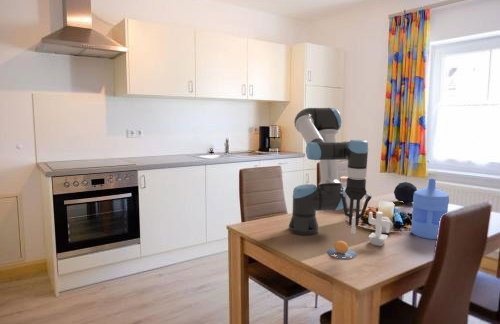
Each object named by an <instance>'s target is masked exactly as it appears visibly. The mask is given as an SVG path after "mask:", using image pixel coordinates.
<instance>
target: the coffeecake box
mask: <svg viewBox="0 0 500 324" xmlns="http://www.w3.org/2000/svg"><path fill="white" fill-rule="evenodd" d="M347 178H348V176H347V175H342V176H340V177H339V181H340V182H341V183H342V187H344V188H345V189H346V187H347ZM365 179H366V180H367V177H366V178H365ZM366 188H367V187H366ZM366 188H365V189H366ZM365 200H366V199H365V196H364V197H363V198H362V199H361V200H360V210H359V211H362V209H363V206H364V203H365ZM356 202H357V200H354V203H353V210H356ZM346 203H347V208H348V209H350V198H349V197H348V195H347V199H346Z"/></svg>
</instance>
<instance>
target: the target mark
mask: <svg viewBox="0 0 500 324" xmlns="http://www.w3.org/2000/svg"><path fill="white" fill-rule="evenodd" d="M328 254H329V255H328ZM334 254H335V255H337V256H336V257H338V258H339V260H349V259H348V258H350V256H352V258H353V259H355V258H356V257H357V253H356V252H355V251H354V250H352V249H350V248H348V250H347V252H346V253H344V254H339V253H338V252H336V250H335V247H334V248H333V247H332V248H329V249H328V250H327V255H328V256H330V255H334ZM342 257H346V258H342ZM354 257H355V258H354Z"/></svg>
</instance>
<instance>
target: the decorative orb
mask: <svg viewBox="0 0 500 324" xmlns="http://www.w3.org/2000/svg"><path fill="white" fill-rule="evenodd" d="M415 191H417V187H416V185H415V184H412V183H411V182H407V181H405V182H398V184H397V185H396V186H395V188H394V191H393V194H394V199H396V200H397V201H398V202H399V201H403V202H404V203H403V204H404V205H407V204H413V196H414V192H415Z"/></svg>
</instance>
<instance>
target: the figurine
mask: <svg viewBox="0 0 500 324" xmlns="http://www.w3.org/2000/svg"><path fill="white" fill-rule="evenodd" d="M383 213H384V212H382V211H376V212H375V216H376V218H374V217H373V211H369V212H368V224H369V225H373V226H374V225H376V228H375V232H373V231H372V232H371V233H370V234H369V235H368V240H369V241H370V243H371V245H374V246H380V247H382V246H383V245H384V243H385V241H386V240H387V238H388V236H389V235H387V234H390V232H391V230H390V222H389V221H387V220H382V217H384V216H383ZM382 226H385V227H386V232H387V233H386V234H385V233H381V229H382ZM389 231H390V232H389Z"/></svg>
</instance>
